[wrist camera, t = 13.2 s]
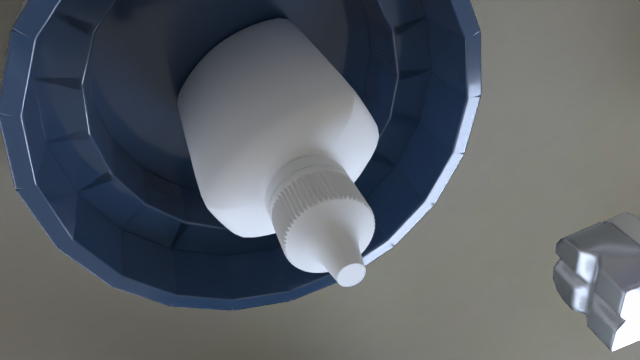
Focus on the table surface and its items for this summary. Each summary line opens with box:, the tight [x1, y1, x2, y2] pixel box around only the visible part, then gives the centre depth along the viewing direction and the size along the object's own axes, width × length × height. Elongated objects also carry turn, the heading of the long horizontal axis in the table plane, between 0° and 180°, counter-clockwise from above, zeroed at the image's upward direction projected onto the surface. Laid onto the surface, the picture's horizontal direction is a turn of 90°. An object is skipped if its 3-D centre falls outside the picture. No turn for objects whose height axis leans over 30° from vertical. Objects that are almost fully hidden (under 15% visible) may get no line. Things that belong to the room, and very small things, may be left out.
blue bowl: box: [0, 0, 481, 311], centre depth 19 cm, size 15×15×6 cm
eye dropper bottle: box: [177, 18, 379, 287], centre depth 17 cm, size 4×6×12 cm
